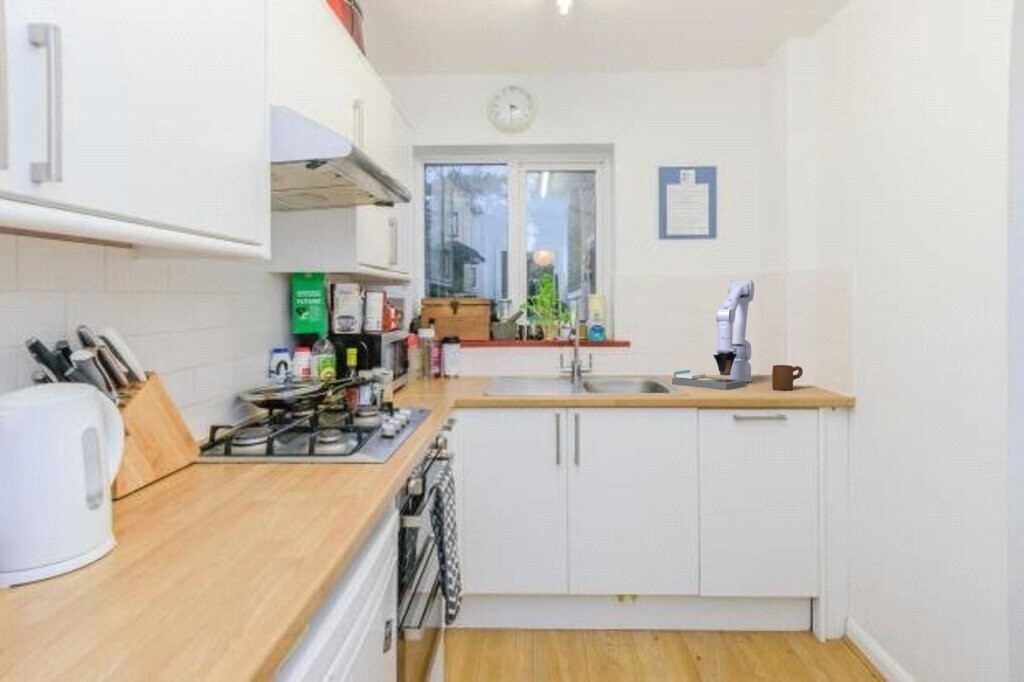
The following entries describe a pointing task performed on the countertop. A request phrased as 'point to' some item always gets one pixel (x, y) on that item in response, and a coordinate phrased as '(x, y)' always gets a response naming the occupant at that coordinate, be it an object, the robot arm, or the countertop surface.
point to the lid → (688, 374)
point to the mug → (784, 377)
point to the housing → (710, 382)
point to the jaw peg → (727, 368)
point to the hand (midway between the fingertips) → (724, 371)
